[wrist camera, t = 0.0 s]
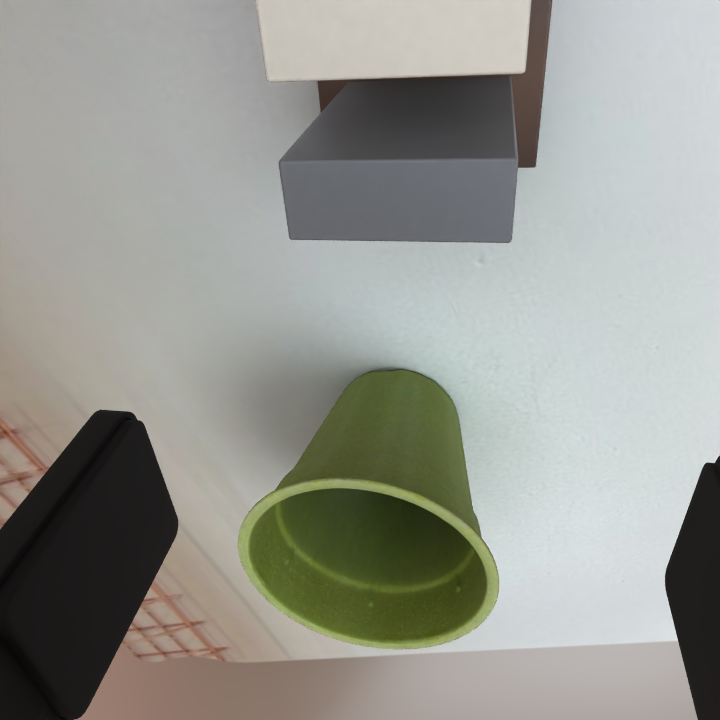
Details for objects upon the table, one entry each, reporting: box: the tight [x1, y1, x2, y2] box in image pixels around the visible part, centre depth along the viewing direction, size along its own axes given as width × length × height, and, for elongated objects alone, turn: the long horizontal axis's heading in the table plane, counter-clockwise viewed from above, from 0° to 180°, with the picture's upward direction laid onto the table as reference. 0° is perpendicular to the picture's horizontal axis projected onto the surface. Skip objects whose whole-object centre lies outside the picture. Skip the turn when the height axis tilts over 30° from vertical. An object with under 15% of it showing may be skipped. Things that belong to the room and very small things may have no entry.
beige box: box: [255, 0, 531, 82], centre depth 19 cm, size 2×6×10 cm, turn 94°
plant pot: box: [238, 370, 499, 649], centre depth 32 cm, size 12×12×11 cm
